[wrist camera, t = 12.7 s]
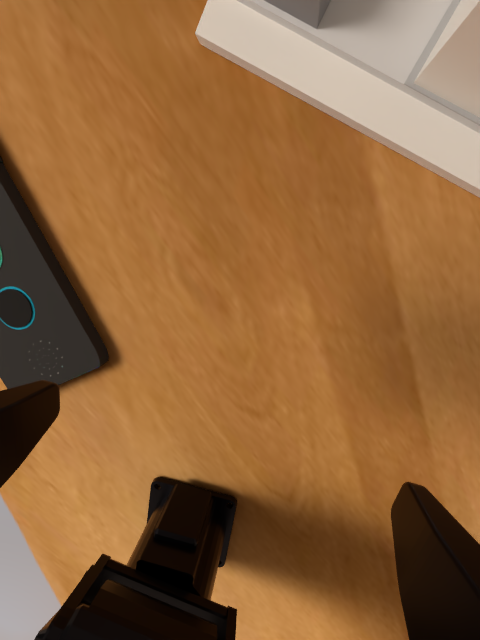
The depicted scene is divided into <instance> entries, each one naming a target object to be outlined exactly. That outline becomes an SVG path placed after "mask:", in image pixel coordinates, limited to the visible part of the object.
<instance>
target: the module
mask: <svg viewBox="0 0 480 640" xmlns="http://www.w3.org/2000/svg"><path fill="white" fill-rule="evenodd" d="M414 84H416V85H418V86H420V87H422V88H424V89H426V90H428V91H430V92H432V93H434V94H435V95H437V96H439V97H441V98H443V99H445V100H447V101H449V102H451V103H453V104H455V105H457V106H458V107H460V108H462V109H464V110H466V111H468V112H470V113H472V114H474V115H476V116H478V117H480V0H461V1H460V3H459V4H458V6H457V8H456V10H455V11H454V13H453V15H452V17H451V18H450V20H449V22H448V23H447V25H446V27H445V29H444V30H443V32H442V34H441V36H440V37H439V39H438V41H437V43H436V44H435V46H434V48H433V50H432V51H431V53H430V55H429V57H428V58H427V60H426V62H425V64H424V65H423V67H422V69H421V71H420V72H419V74H418V76H417V78H416V79H415V81H414Z"/></svg>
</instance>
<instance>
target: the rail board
mask: <svg viewBox="0 0 480 640" xmlns="http://www.w3.org/2000/svg"><path fill="white" fill-rule="evenodd" d="M460 1H461V0H208V1H207V4H206V6H205V9H204V12H203V14H202V17H201V19H200V22H199V24H198V27H197V30H196V32H195V34H196V36H197V38H198V40H199V42H200V44H201V45H203V46H205V47H206V48H208V49H210V50H212V51H214V52H215V53H217V54H219V55H221V56H223V57H225V58H226V59H228V60H230V61H232V62H234V63H236V64H237V65H239V66H241V67H243V68H245V69H246V70H248V71H250V72H252V73H254V74H256V75H257V76H259V77H261V78H263V79H265V80H266V81H268V82H270V83H272V84H274V85H276V86H277V87H279V88H281V89H283V90H285V91H286V92H288V93H290V94H292V95H294V96H296V97H297V98H299V99H301V100H303V101H305V102H307V103H308V104H310V105H312V106H314V107H316V108H317V109H319V110H321V111H323V112H325V113H327V114H328V115H330V116H332V117H334V118H336V119H337V120H339V121H341V122H343V123H345V124H347V125H348V126H350V127H352V128H354V129H356V130H358V131H359V132H361V133H363V134H365V135H367V136H368V137H370V138H372V139H374V140H376V141H378V142H379V143H381V144H383V145H385V146H387V147H388V148H390V149H392V150H394V151H396V152H398V153H399V154H401V155H403V156H405V157H407V158H408V159H410V160H412V161H414V162H416V163H418V164H419V165H421V166H423V167H425V168H427V169H429V170H430V171H432V172H434V173H436V174H438V175H439V176H441V177H443V178H445V179H447V180H449V181H450V182H452V183H454V184H456V185H458V186H459V187H461V188H463V189H465V190H467V191H469V192H470V193H472V194H474V195H476V196H478V197H480V117H478V116H476V115H474V114H472V113H470V112H468V111H466V110H464V109H462V108H460V107H458V106H457V105H455V104H453V103H451V102H449V101H447V100H445V99H443V98H441V97H439V96H437V95H435V94H434V93H432V92H430V91H428V90H426V89H424V88H422V87H420V86H418V85H416V84H414V81H415V79H416V78H417V76H418V74H419V72H420V71H421V69H422V67H423V65H424V64H425V62H426V60H427V58H428V57H429V55H430V53H431V51H432V50H433V48H434V46H435V44H436V43H437V41H438V39H439V37H440V36H441V34H442V32H443V30H444V29H445V27H446V25H447V23H448V22H449V20H450V18H451V17H452V15H453V13H454V11H455V10H456V8H457V6H458V4H459V3H460Z"/></svg>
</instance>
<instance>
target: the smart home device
mask: <svg viewBox="0 0 480 640" xmlns="http://www.w3.org/2000/svg"><path fill="white" fill-rule="evenodd" d="M108 359H109V356H108V352H107V349H106V347H105V345H104V343H103V341H102V339H101V337H100V336H99V334H98V332H97V330H96V328H95V327H94V325H93V323H92V321H91V319H90V318H89V316H88V314H87V312H86V311H85V309H84V307H83V305H82V303H81V302H80V300H79V298H78V296H77V295H76V293H75V291H74V289H73V287H72V286H71V284H70V282H69V280H68V278H67V277H66V275H65V273H64V271H63V270H62V268H61V266H60V264H59V262H58V261H57V259H56V257H55V255H54V253H53V252H52V250H51V248H50V246H49V245H48V243H47V241H46V239H45V237H44V236H43V234H42V232H41V230H40V229H39V227H38V225H37V223H36V221H35V220H34V218H33V216H32V214H31V212H30V211H29V209H28V207H27V205H26V204H25V202H24V200H23V198H22V196H21V195H20V193H19V191H18V189H17V187H16V186H15V184H14V182H13V180H12V179H11V177H10V175H9V173H8V171H7V170H6V168H5V166H4V164H3V161H2V159H1V157H0V378H1V379H2V381H3V382H4V384H5V385H6V387H7V389H10V388H14V387H17V386H21V385H25V384H29V383H32V382H36V381H40V380H46V381H50V382H53V383H56V384H58V385H60V384H62V383H64V382H67V381H69V380H71V379H73V378H76V377H78V376H80V375H83V374H85V373H87V372H89V371H92V370H94V369H96V368H98V367H100V366H101V365H103V364H104V363H106V362H107V361H108Z"/></svg>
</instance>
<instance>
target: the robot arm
mask: <svg viewBox="0 0 480 640" xmlns="http://www.w3.org/2000/svg"><path fill="white" fill-rule="evenodd" d="M59 411H60V392H59V386H58V384H56V383H53V382H50V381H46V380H40V381H36V382H32V383H29V384H25V385H21V386H17V387H14V388H10V389H6V390H3V391H0V488H1V487H2V486H3V484H4V483H5V482H6V481H7V480H8V479H9V478H10V477H11V476H12V474H13V473H14V472H15V471H16V470H17V469H18V468H19V466H20V465H21V464H22V463H23V461H24V460H25V459H26V458H27V456H28V455H29V454H30V452H31V451H32V450H33V448H34V447H35V446H36V444H37V443H38V442H39V440H40V439H41V438H42V436H43V435H44V434H45V433H46V431H47V430H48V429H49V427H50V426H51V425H52V423H53V422H54V421H55V419H56V418H57V416H58V414H59ZM157 484H159V485H160V486H159V485H157ZM228 503H231V504H228ZM236 506H237V500H236V499H235V498H234V497H233V496H229V495H226V494H222V493H218V492H214V491H210V490H206V489H203V488H199V487H195V486H191V485H187V484H183V483H180V482H176V481H172V480H168V479H164V478H160V477H157V478H155V479H154V480H153V482H152V484H151V491H150V500H149V509H148V518H147V525H146V527H145V529H144V531H143V533H142V535H141V537H140V539H139V541H138V543H137V545H136V547H135V549H134V551H133V553H132V555H131V557H130V559H129V561H128V563H127V565H124V564H122V563H120V562H117V561H115V560H112V559H111V557H110V556H108V555H105V554H102V555H101V557H100V558H99V559H98V561H97V562H96V564H95V565H92V566H91V567H90V568H89V570H88V571H86V573H85V574H84V576H83V578H82V579H81V581H80V582H79V584H78V585H77V586H76V588H75V589H74V591H73V592H72V593H71V595H70V596H69V597H68V599H67V600H66V602H65V603H64V604H63V606H62V607H61V609H60V610H59V611H58V612H57V613H56V614H55V615H54V616H53V617H52V618H51V619H50V620H49V622H48V623H47V624H46V625H45V626H44V627H43V628H42V629H41V630H40V631H39V633H38V634H37V636H36V638H35V640H235V634H236V616H237V609H235V608H232V607H230V606H228V607H225V606H223V605H220V604H218V603H215V602H213V601H211V596H212V591H213V587H214V582H215V578H216V573H217V569H218V567H222V566H224V564H225V560H226V555H227V550H228V545H229V540H230V535H231V530H232V525H233V520H234V515H235V511H236ZM391 520H392V530H393V539H394V549H395V558H396V568H397V577H398V584H399V591H400V596H401V602H402V606H403V611H404V616H405V621H406V626H407V631H408V636H409V640H480V544H479V543H478V542H477V541H476V540H475V539H474V538H473V537H472V536H471V535H470V534H469V533H468V532H467V531H466V530H465V529H464V528H463V527H462V525H461V524H460V523H459V522H458V521H457V520H456V519H455V518H454V517H453V516H452V515H451V514H450V513H449V512H448V511H447V510H446V509H445V508H444V507H443V505H442V504H441V503H440V502H439V501H438V500H437V499H436V498H435V497H434V496H433V495H432V494H431V493H430V492H429V491H428V490H427V489H426V488H425V487H424V486H421V485H418V484H414V483H411V482H405V483H404V484H403V485H402V487H401V489H400V491H399V493H398V495H397V497H396V499H395V501H394V503H393V505H392V509H391Z"/></svg>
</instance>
